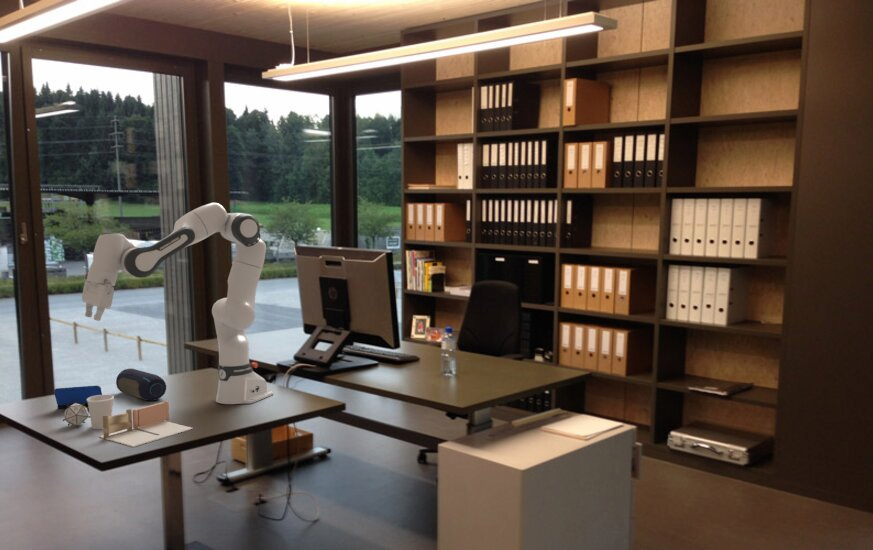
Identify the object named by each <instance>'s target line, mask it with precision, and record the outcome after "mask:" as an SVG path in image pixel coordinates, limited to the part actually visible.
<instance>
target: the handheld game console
mask: <svg viewBox="0 0 873 550" xmlns="http://www.w3.org/2000/svg"><path fill="white" fill-rule="evenodd" d="M53 394H54V397H55V401H56V405H57V410H58V409H61V410H66V409H67V408H68V407H67V405H69V406H71V405H73V404H75V401H76V403H78V404H82V405H83V403H85V404H84V406H85V407H88V401H87V398H89V397H92V396H96V395H103V393H102V388H101V386H100V385H87V386H85V385H84V386H83V385H82V386H72V387H59V388H58V387H57V388H55V389H54V390H53Z"/></svg>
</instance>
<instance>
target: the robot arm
mask: <svg viewBox="0 0 873 550" xmlns="http://www.w3.org/2000/svg"><path fill="white" fill-rule="evenodd" d="M173 226H174V227H173V230H172V232H171V233H170V234H169V235H167V236H165V237H164V238H162V239H160V240H159V241H157V242H155V243H153V244H152V245H149V246H144V247H138V246H137V245H135V244H134V243H133V242H132V241H130V240H129V239H128V238H127V237H126V236H125V234H123V233H120V232H119V233H118V232H103V233H102V234H101V233H100V235H99V236H98V238H97V241H96V242H95V245H94V250H93V254H92V262H91V264H90V266H89V271H88V272H86V273H85V274H84V284H83V289H82V294H81V295H82V296H81V300H82V302H84V303H85V314H84V316H85V317H87V318H92V316H93V320H94V321H97V322H100V321H101V320H102V319H101V318H102V316H103V314H104V312H105V309H108V310H109V309H111V307H112V305H113V300H114V293H115V288H114V287H115V286H116V282H117V278H118V274H119V271H122V272H124V273H126V274H127V275H128V274H129V275H131V276H133V277H135V278H141V279H143V278H147V277H149V276H151V275H153V274H154V273H155V272H156V270H157V269H158V267H159V266H160V265H161V263H162V262H164V261H165V260H167V259H168V258H170V257H171V256H173V255H175V254H176V253H178V252H179V251H182V250H183V249H184V248H187V247H189V246H192V245H195V244H197V243H199V242H201V241H203V240H205V239H207V238H209V237H210V236H212V235H214V234H216V233H217V234H218V236H220V237H221V238H222V239H223V240H225V241H229V242H233V243H235V245H236V253H235V256H234V259H233V262H232V265H231V268H230V270H229V271H230V272H229V274H228V278H227V296H226V297H223V298H220V299H218V300H217V301H216V302H214V303H213V305H212V308H211V315H212V317H213V321H214V329H215V333H216V337H217V344H218V364H217V374H218V387H217V392H216V398H215V402H216V403H218V404H222V405H239V404H240V405H241V404H254V403H256V402H258V401H261V400H263V399H266V398H268V397H270V396H273V395H274V392H273V391H272V390H270V389H268V385H267V381H266V379H265V378H264V377H262V376H261V375H259V374H258V373H256V372H255V371H254V369H257V368H258V363H257V362H254V361H252V362H250V351H249V350H250V349H249V348H250V347H249V340H248V338H247V335H246V334H247V333H246V329H248V328H250V327H251V326H252V325H253V324H254V322H255V319H256V312H255V304H256V294H257V293H256V292H257V288H258V284H259V280H260V277H261V275H262V274H261V273H262V271H263V268H264V263H265V259H266V252H267V246H266V242H265V241H264V240H263V239H262V238H261V232H260V231H261V228H260V227H261V226H260V223H259V220H258V219H257V217H255V216H254V215H252V214H249V213H244V212H227V210H226V209H225V207H224V206H223V205H222V204H220V203H218V202H210V203H207V204H204V205H201V206H199V207H197V208H194V209H193V210H191V211H189V212H187V213H185V214H184V215H183V216H181V217H180V218H178V219H177V220H176V221H175V223H174V225H173ZM94 307H96V311H95V314H94V315H93V308H94ZM253 368H254V369H253Z"/></svg>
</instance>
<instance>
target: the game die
mask: <svg viewBox="0 0 873 550" xmlns="http://www.w3.org/2000/svg"><path fill="white" fill-rule="evenodd" d="M84 404H85V403H83V405H82V404H78V403H76V401H75V404H73V405H71V406H69V405H67V407H68V408H67V409H64V410H65V411H64V410H62V411H61V412H62V414H64V418H63V419H62V421H61V422H64V421H65V422H67V423H68V424H67V426H68V427H69V426H70V425H72V426H75V427H76V429H78V428H79V425H82V424H84V423H85V424H86V420H87V419H91V418H90V415H89V412H88V411H89V408H86V407H85V406H84Z"/></svg>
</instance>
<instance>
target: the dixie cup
mask: <svg viewBox="0 0 873 550" xmlns="http://www.w3.org/2000/svg"><path fill="white" fill-rule="evenodd" d="M114 398H115V397H114V395H112V394H102V395H96V396H92V397H89V398H87V401H88V407H89V410H88V411H89V412H88V413H89V416H90V418H89V419H90V423H91V429H93V428H94V429H93V430H103V429H102V428H103V416H104V415H108V417H111V416H113V405H114Z"/></svg>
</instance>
